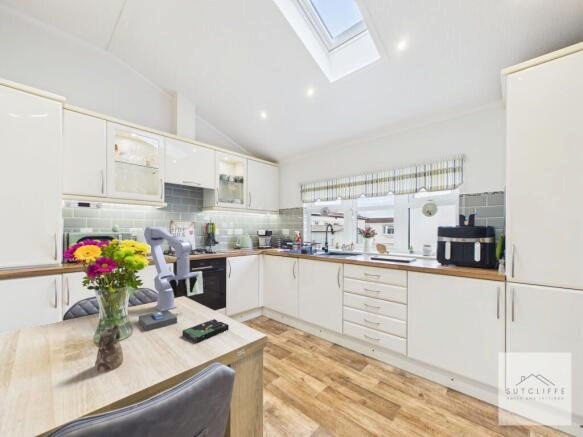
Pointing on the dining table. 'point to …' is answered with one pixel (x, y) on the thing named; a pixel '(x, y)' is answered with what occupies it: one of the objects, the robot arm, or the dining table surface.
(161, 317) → the servo
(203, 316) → the dining table surface
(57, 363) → the dining table surface
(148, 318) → the chassis
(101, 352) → the figurine
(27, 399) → the dining table surface
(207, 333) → the disk drive
